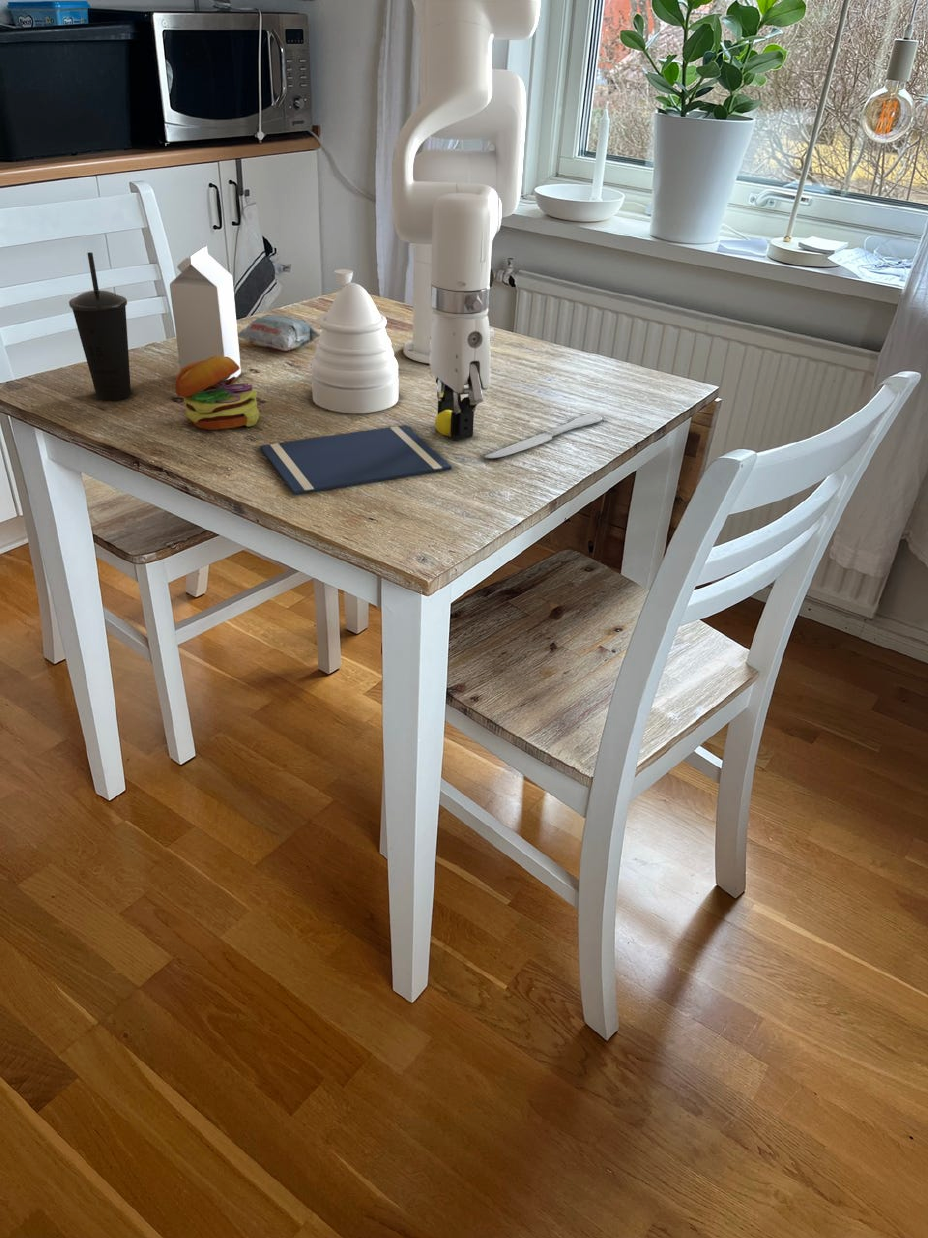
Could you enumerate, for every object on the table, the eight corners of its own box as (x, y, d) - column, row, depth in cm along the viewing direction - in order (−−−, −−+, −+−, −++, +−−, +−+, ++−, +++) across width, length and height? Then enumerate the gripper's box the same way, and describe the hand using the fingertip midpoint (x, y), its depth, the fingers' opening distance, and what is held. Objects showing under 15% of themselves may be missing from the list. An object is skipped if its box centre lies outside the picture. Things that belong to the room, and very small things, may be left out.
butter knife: (607, 417, 138) (591, 411, 140) (494, 459, 123) (478, 452, 125) (606, 419, 138) (591, 414, 140) (494, 462, 124) (478, 455, 125)
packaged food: (289, 360, 155) (287, 330, 152) (234, 346, 160) (231, 317, 157) (321, 347, 162) (320, 318, 159) (267, 335, 166) (265, 306, 164)
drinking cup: (93, 385, 142) (68, 245, 131) (145, 386, 142) (124, 247, 132) (80, 403, 135) (52, 258, 124) (135, 404, 136) (112, 259, 125)
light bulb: (429, 434, 131) (431, 408, 130) (463, 438, 135) (465, 412, 134) (443, 435, 128) (445, 408, 128) (477, 438, 132) (480, 413, 131)
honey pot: (294, 396, 142) (287, 271, 132) (359, 377, 150) (356, 259, 140) (351, 420, 134) (348, 290, 125) (415, 399, 142) (417, 276, 133)
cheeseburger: (240, 438, 127) (216, 365, 122) (176, 444, 131) (150, 374, 126) (276, 412, 135) (255, 343, 130) (214, 418, 139) (191, 351, 134)
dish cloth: (406, 427, 133) (406, 424, 133) (451, 468, 122) (451, 465, 122) (260, 448, 125) (259, 445, 125) (294, 494, 114) (294, 491, 113)
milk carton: (241, 373, 149) (229, 247, 139) (227, 388, 143) (214, 257, 133) (197, 370, 149) (182, 244, 139) (182, 385, 143) (165, 254, 133)
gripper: (516, 313, 117) (506, 451, 127) (458, 280, 129) (453, 408, 139) (461, 319, 114) (456, 459, 124) (407, 284, 126) (406, 415, 137)
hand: (454, 431), depth 132 cm, fingers closed on light bulb, 3 cm apart
